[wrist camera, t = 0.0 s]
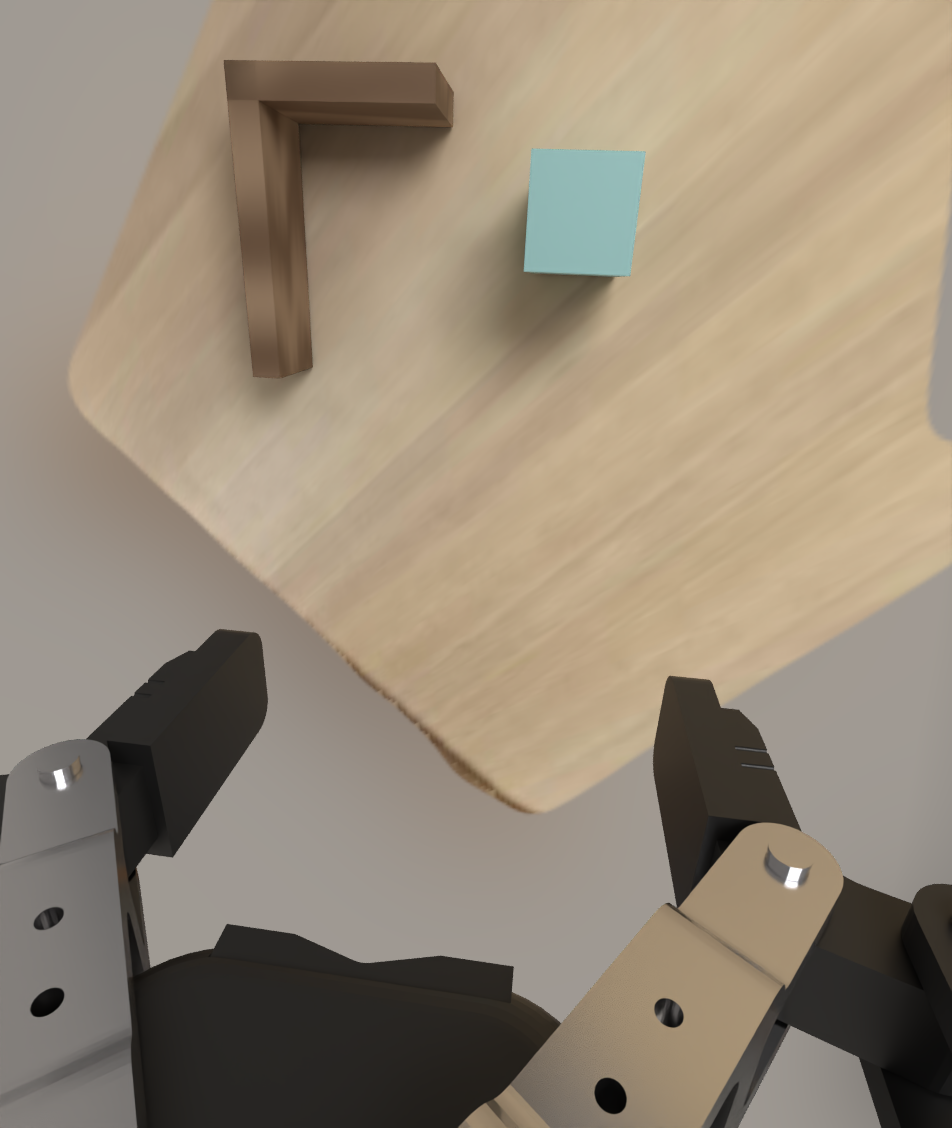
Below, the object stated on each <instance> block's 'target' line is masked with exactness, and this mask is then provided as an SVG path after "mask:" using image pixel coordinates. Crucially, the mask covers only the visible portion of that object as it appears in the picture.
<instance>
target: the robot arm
mask: <svg viewBox="0 0 952 1128" xmlns="http://www.w3.org/2000/svg"><path fill="white" fill-rule="evenodd" d="M267 703H268V697H267V687H266V677H265V668H264V659H263V649H262V642H261V638H260V636H259V635H258V634H257V633H254V632H244V631H234V630H224V629H219V630H217V631H215V632H214V633H213V634H212V635H211V636H210V637H209V638H208V639H207V640H206V641H205V642H204V643H203V644H202V645H201V646H200V647H199V648H198V649H197V650H196V651H188V652H186V653H184V654H182V655H180V656H178V657H176V658H175V659H173V660H171V661H169V662H167V663H165V664H164V665H163V666H162V667H161V668H160V669H159V670H158V671H157V672H156V673H155V674H154V675H153V676H151V677H150V678H149V680H148V683H144V684H143V685H142V686H141V687H140V688H139V689H138V690H137V691H136V692H135V695H134V696H131V697H130V698H129V699H127V700H126V701H125V702H124V703H123V704H122V705H121V706H120V707H119V708H118V709H117V710H116V711H115V712H114V713H113V714H112V715H111V716H110V717H109V718H108V719H107V720H105V722H103V723H102V724H101V725H100V726H99V727H98V728H97V729H96V730H95V731H94V732H93V733H92V734H91V735H90V736H89V737H88V738H87V739H76V740H68V741H63V742H59V743H56V744H52V745H50V746H47V747H44V748H42V749H40V750H38V751H36V752H34V753H32V754H31V755H29V756H27V757H26V758H25V759H23V760H22V761H21V762H19V763H18V764H17V765H16V766H15V767H14V769H13V770H12V771H11V772H10V774H8V775H0V1128H738V1127H739V1125H740V1123H741V1121H742V1119H743V1117H744V1115H745V1113H746V1111H747V1109H748V1107H749V1105H750V1103H751V1101H752V1099H753V1098H754V1096H755V1094H756V1092H757V1090H758V1088H759V1086H760V1084H761V1082H762V1080H763V1078H764V1076H765V1074H766V1073H767V1071H768V1069H769V1067H770V1065H771V1063H772V1061H773V1059H774V1057H775V1056H776V1053H777V1052H778V1050H779V1048H780V1046H781V1044H782V1042H783V1040H784V1038H785V1036H786V1034H787V1033H788V1031H789V1029H790V1027H791V1026H793V1027H795V1028H797V1029H799V1030H801V1031H804V1032H806V1033H808V1034H810V1035H812V1036H815V1037H816V1038H819V1039H821V1040H823V1041H825V1042H827V1043H829V1044H831V1045H834V1046H836V1047H838V1048H840V1049H842V1050H844V1051H847V1052H849V1053H851V1054H853V1055H855V1056H857V1057H859V1059H860V1062H861V1065H862V1068H863V1072H864V1075H865V1078H866V1081H867V1084H868V1087H869V1090H870V1093H871V1097H872V1100H873V1103H874V1106H875V1109H876V1112H877V1115H878V1118H879V1122H880V1125H881V1128H952V885H947V884H932V885H928V886H925V887H923V888H922V889H920V890H919V891H918V892H917V894H916V895H915V898H914V900H913V902H912V904H911V903H909V902H906V901H903V900H901V899H898V898H895V897H892V896H890V895H887V894H884V893H881V892H879V891H876V890H873V889H871V888H868V887H866V886H863V885H861V884H858V883H856V882H854V881H852V880H850V879H848V878H846V877H844V876H843V874H842V871H841V868H840V866H839V864H838V863H837V861H836V859H835V858H834V857H833V855H832V854H831V853H830V852H829V851H828V850H827V849H826V848H825V847H824V846H823V845H822V844H820V843H819V842H818V841H816V840H815V839H814V838H812V837H810V836H809V835H807V834H805V833H803V832H802V831H801V829H800V827H799V824H798V822H797V820H796V817H795V815H794V813H793V810H792V808H791V805H790V803H789V801H788V798H787V796H786V794H785V791H784V789H783V786H782V784H781V782H780V779H779V777H778V775H777V772H776V771H774V765H773V763H772V761H771V758H770V756H769V754H768V753H767V752H766V751H767V749H766V746H765V744H764V742H763V740H762V737H761V735H760V733H759V730H758V729H757V727H755V725H753V724H752V722H751V721H749V719H747V718H746V717H745V716H744V715H743V714H742V713H741V712H740V711H739V710H735V709H726V708H721V707H720V704H719V701H718V698H717V696H716V693H715V690H714V687H713V684H712V682H711V681H710V680H706V679H696V678H686V677H676V676H669V677H668V678H667V681H666V684H665V689H664V695H663V700H662V705H661V711H660V716H659V721H658V727H657V732H656V738H655V744H654V754H653V770H654V779H655V784H656V790H657V796H658V802H659V807H660V813H661V818H662V825H663V830H664V836H665V842H666V847H667V853H668V859H669V864H670V870H671V876H672V881H673V887H674V893H675V899H676V904H677V908H676V907H674V906H673V905H672V904H670V903H666V904H664V905H662V906H661V907H660V908H659V909H658V910H657V911H656V912H655V913H654V914H653V915H652V917H651V918H650V919H649V920H648V921H647V922H646V924H645V925H644V926H643V927H642V928H641V930H640V931H639V932H638V933H637V934H636V936H635V937H634V938H633V939H632V940H631V942H630V943H629V944H628V945H627V946H626V948H625V949H624V950H623V951H622V952H621V953H620V955H619V956H618V957H617V958H616V959H615V961H614V962H613V963H612V964H611V965H610V966H609V968H608V969H607V970H606V971H605V973H604V974H603V975H602V976H601V977H600V978H599V979H598V981H597V982H596V983H595V984H594V985H593V987H592V988H591V989H590V990H589V991H588V992H587V994H586V995H585V996H584V997H583V998H582V1000H581V1001H580V1002H579V1003H578V1004H577V1006H576V1007H575V1008H574V1009H573V1010H572V1012H571V1013H570V1014H569V1015H568V1016H567V1017H566V1019H565V1020H564V1021H563V1022H562V1023H560V1022H559V1021H558V1020H557V1019H555V1018H554V1017H553V1016H551V1015H550V1014H549V1013H548V1012H546V1011H545V1010H544V1009H542V1008H541V1007H539V1006H538V1005H536V1004H534V1003H532V1002H531V1001H529V1000H527V999H526V998H523V997H521V996H519V995H517V994H515V993H513V992H512V980H513V968H514V967H513V966H506V965H499V964H493V963H486V962H479V961H472V960H465V959H459V958H452V957H445V956H434V957H424V958H414V959H405V960H395V961H385V962H375V963H360V962H356V961H354V960H351V959H349V958H347V957H345V956H343V955H340V954H338V953H336V952H334V951H331V950H329V949H327V948H325V947H323V946H320V945H318V944H316V943H314V942H311V941H309V940H307V939H305V938H303V937H300V936H298V935H296V934H290V933H284V932H277V931H270V930H264V929H257V928H250V927H244V926H237V925H230V924H227V925H226V927H225V929H224V931H223V932H222V935H221V936H220V938H219V940H218V942H217V944H216V946H215V948H214V949H208V950H203V951H198V952H193V953H189V954H186V955H183V956H180V957H176V958H173V959H170V960H168V961H166V962H163V963H161V964H159V965H157V966H154V967H152V968H151V967H150V960H149V952H148V944H147V937H146V930H145V921H144V914H143V905H142V898H141V890H140V882H139V876H138V872H137V868H136V867H137V865H138V864H139V863H140V861H141V860H142V858H143V857H144V856H145V854H152V855H159V856H166V857H173V856H174V855H175V853H176V852H177V851H178V849H179V848H180V846H181V845H182V843H183V842H184V840H185V839H186V837H187V836H188V834H189V833H190V832H191V830H192V828H193V827H194V826H195V824H196V823H197V821H198V820H199V818H200V817H201V815H202V814H203V812H204V811H205V809H206V808H207V807H208V805H209V804H210V802H211V801H212V799H213V798H214V796H215V795H216V793H217V792H218V790H219V789H220V787H221V786H222V785H223V783H224V782H225V780H226V779H227V777H228V776H229V774H230V773H231V771H232V770H233V768H234V767H235V766H236V764H237V763H238V761H239V760H240V758H241V757H242V755H243V754H244V752H245V751H246V749H247V748H248V746H249V745H250V744H251V742H252V741H253V739H254V738H255V736H256V734H257V733H258V732H259V730H260V729H261V727H262V725H263V722H264V719H265V716H266V712H267Z"/></svg>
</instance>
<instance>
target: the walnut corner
mask: <svg viewBox="0 0 952 1128" xmlns="http://www.w3.org/2000/svg"><path fill="white" fill-rule="evenodd" d="M224 69H225V80H226V91H227V101H228V112H229V123H230V133H231V144H232V155H233V165H234V176H235V187H236V198H237V208H238V219H239V230H240V240H241V251H242V262H243V272H244V283H245V294H246V304H247V315H248V326H249V336H250V347H251V358H252V368H253V377H265V378H283V377H286V376H288V375H291V374H294V373H297V372H300V371H303V370H306V369H309V368H312V367H313V364H312V347H311V330H310V312H309V295H308V278H307V260H306V243H305V226H304V208H303V191H302V174H301V156H300V139H299V124H334V125H380V126H426V127H453V95H454V92H453V91H452V89H451V87H450V86H449V84H448V82H447V81H446V79H445V77H444V76H443V74H442V72H441V71H440V69H439V67H438V66H437V64H436V63H413V62H330V61H247V60H224Z"/></svg>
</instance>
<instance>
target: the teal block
mask: <svg viewBox="0 0 952 1128" xmlns="http://www.w3.org/2000/svg"><path fill="white" fill-rule="evenodd" d="M644 160H645V151H605V150H565V149H532V150H531V166H530V181H529V197H528V213H527V228H526V244H525V260H524V272H530V273H540V274H563V275H586V276H609V277H621V276H630V273H631V265H632V257H633V249H634V241H635V233H636V225H637V217H638V209H639V201H640V193H641V185H642V177H643V168H644Z"/></svg>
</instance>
